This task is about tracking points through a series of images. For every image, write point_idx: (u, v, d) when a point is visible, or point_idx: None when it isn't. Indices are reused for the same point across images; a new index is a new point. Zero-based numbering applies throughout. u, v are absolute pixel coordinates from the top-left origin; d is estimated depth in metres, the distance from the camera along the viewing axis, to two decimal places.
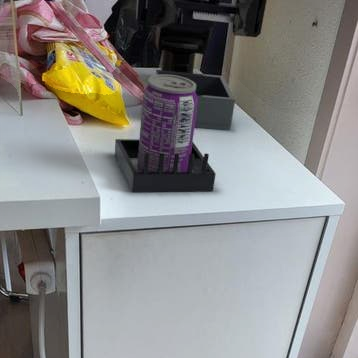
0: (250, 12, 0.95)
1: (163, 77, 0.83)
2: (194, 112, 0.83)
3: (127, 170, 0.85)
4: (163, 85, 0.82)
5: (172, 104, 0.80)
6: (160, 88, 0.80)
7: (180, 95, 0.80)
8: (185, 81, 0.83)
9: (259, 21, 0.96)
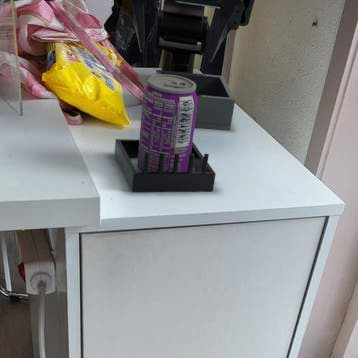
0: (233, 15, 0.87)
1: (163, 77, 0.83)
2: (194, 112, 0.83)
3: (127, 170, 0.85)
4: (163, 85, 0.82)
5: (172, 104, 0.80)
6: (160, 88, 0.80)
7: (180, 95, 0.80)
8: (185, 81, 0.83)
9: (246, 16, 0.88)
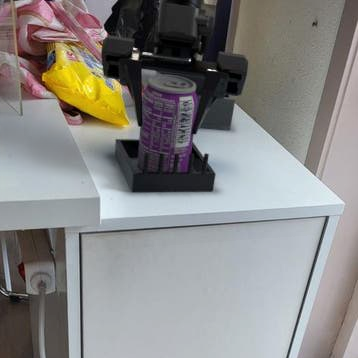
0: (219, 86, 0.85)
1: (163, 77, 0.83)
2: (194, 112, 0.83)
3: (127, 170, 0.85)
4: (163, 85, 0.82)
5: (172, 104, 0.80)
6: (160, 88, 0.80)
7: (180, 95, 0.80)
8: (185, 81, 0.83)
9: (239, 87, 0.86)
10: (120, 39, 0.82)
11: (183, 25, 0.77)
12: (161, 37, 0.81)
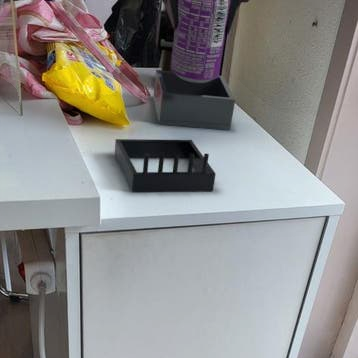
0: None
1: None
2: (227, 12, 0.88)
3: (127, 170, 0.85)
4: None
5: (209, 2, 0.85)
6: None
7: None
8: None
9: None
10: None
11: None
12: None
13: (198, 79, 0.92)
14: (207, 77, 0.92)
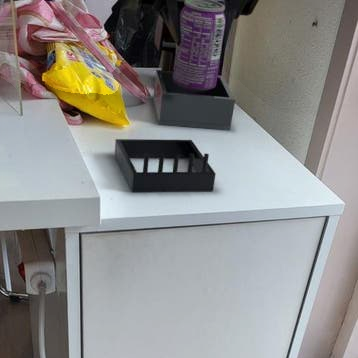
0: (237, 7, 1.01)
1: (193, 0, 0.99)
2: (224, 28, 0.99)
3: (127, 170, 0.85)
4: (198, 6, 0.97)
5: (210, 21, 0.96)
6: (199, 8, 0.95)
7: (216, 13, 0.96)
8: (212, 3, 0.99)
9: (251, 7, 1.03)
10: None
11: None
12: None
13: (200, 89, 1.03)
14: (208, 87, 1.03)
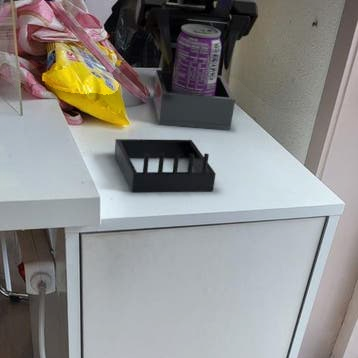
0: None
1: (190, 26, 1.01)
2: (220, 53, 1.02)
3: (127, 170, 0.85)
4: (194, 32, 1.00)
5: (206, 46, 0.99)
6: (196, 34, 0.98)
7: (212, 39, 0.99)
8: (208, 28, 1.02)
9: (248, 28, 1.05)
10: None
11: None
12: None
13: None
14: None
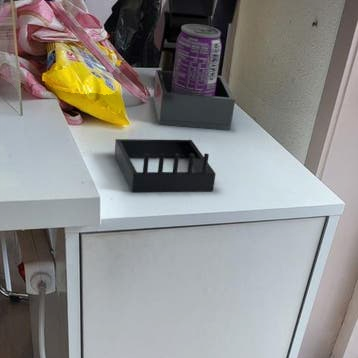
0: None
1: (190, 26, 1.01)
2: (220, 53, 1.02)
3: (127, 170, 0.85)
4: (194, 32, 1.00)
5: (206, 46, 0.99)
6: (196, 34, 0.98)
7: (212, 39, 0.99)
8: (208, 28, 1.02)
9: None
10: None
11: None
12: None
13: None
14: None
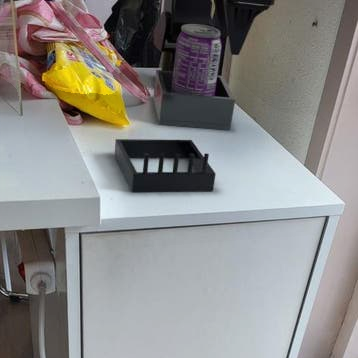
0: None
1: (190, 26, 1.01)
2: (220, 53, 1.02)
3: (127, 170, 0.85)
4: (194, 32, 1.00)
5: (206, 46, 0.99)
6: (196, 34, 0.98)
7: (212, 39, 0.99)
8: (208, 28, 1.02)
9: None
10: None
11: None
12: None
13: None
14: None
